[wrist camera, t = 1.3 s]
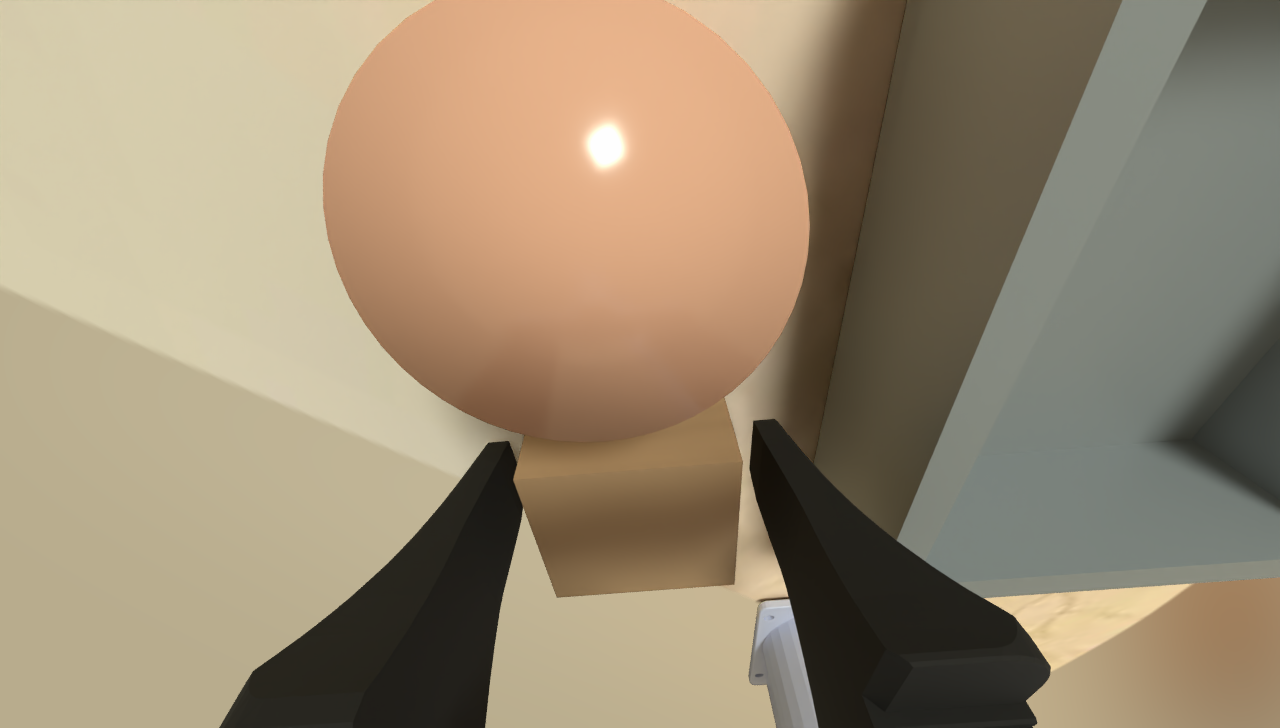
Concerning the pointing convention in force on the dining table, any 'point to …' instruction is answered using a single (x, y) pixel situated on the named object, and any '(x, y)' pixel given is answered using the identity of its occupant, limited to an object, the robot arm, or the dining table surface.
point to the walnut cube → (636, 507)
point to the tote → (1070, 297)
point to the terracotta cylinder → (566, 212)
